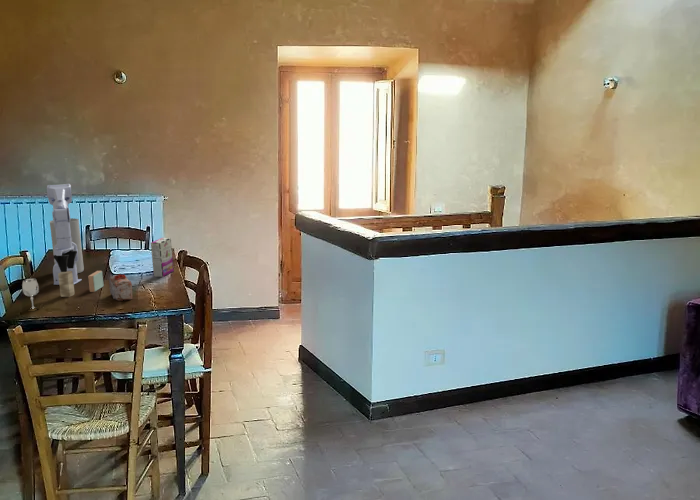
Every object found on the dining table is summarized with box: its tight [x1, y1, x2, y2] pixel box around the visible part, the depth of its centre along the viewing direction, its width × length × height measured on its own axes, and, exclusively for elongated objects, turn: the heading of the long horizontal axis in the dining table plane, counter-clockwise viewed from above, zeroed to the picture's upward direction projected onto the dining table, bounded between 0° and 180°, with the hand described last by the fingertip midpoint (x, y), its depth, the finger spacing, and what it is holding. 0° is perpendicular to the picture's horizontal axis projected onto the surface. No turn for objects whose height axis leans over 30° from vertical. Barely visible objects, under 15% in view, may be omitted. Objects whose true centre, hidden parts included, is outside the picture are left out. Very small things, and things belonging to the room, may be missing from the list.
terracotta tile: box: [87, 270, 104, 293], centre depth 285 cm, size 2×9×7 cm, turn 176°
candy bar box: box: [150, 237, 175, 278], centre depth 308 cm, size 11×5×16 cm, turn 168°
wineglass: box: [21, 278, 40, 309], centre depth 256 cm, size 6×6×12 cm
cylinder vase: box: [49, 217, 85, 274], centre depth 313 cm, size 12×12×25 cm
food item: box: [108, 273, 133, 302], centre depth 272 cm, size 14×8×10 cm, turn 34°
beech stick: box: [58, 271, 75, 298], centre depth 276 cm, size 4×4×10 cm
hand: (67, 270), depth 275 cm, fingers open, 7 cm apart
